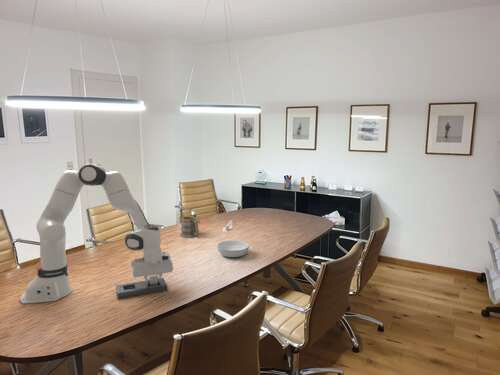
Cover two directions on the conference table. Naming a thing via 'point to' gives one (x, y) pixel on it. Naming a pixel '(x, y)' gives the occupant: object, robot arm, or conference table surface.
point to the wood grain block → (153, 280)
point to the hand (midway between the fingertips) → (153, 282)
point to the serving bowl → (233, 248)
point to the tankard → (189, 227)
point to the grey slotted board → (139, 288)
